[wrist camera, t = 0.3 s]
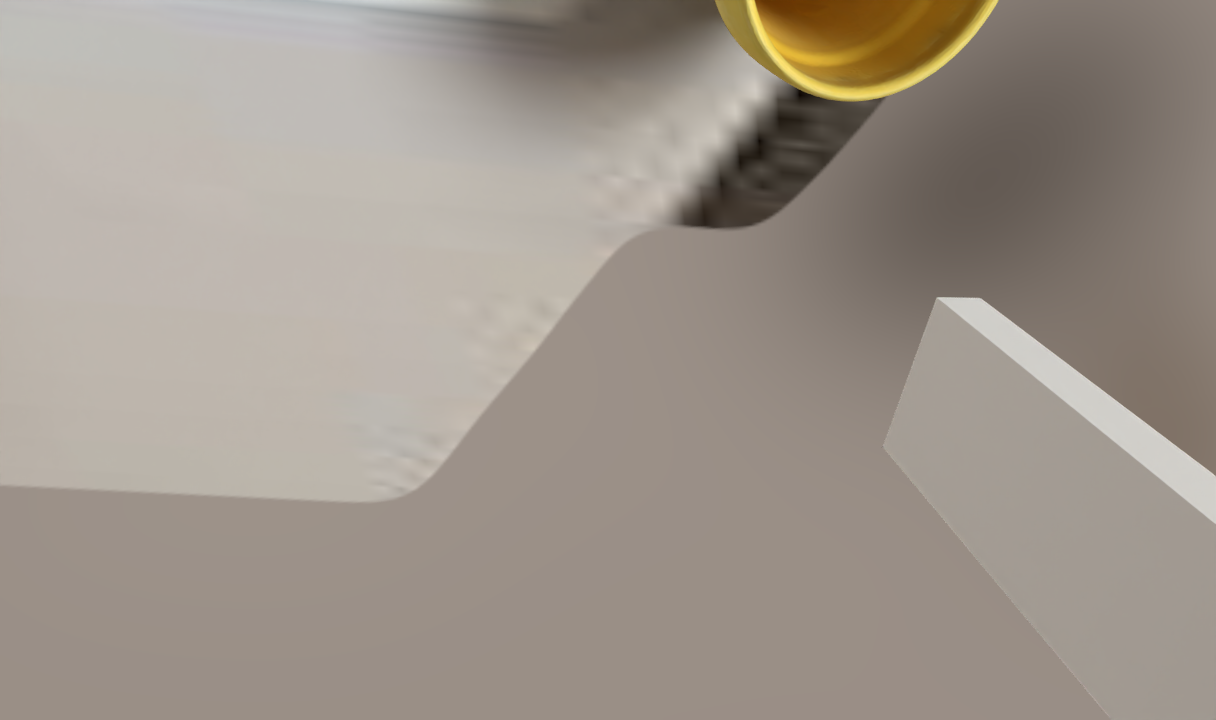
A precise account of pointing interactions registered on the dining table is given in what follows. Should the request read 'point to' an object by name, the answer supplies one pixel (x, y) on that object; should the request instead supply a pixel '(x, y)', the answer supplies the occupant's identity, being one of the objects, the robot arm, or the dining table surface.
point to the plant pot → (853, 41)
